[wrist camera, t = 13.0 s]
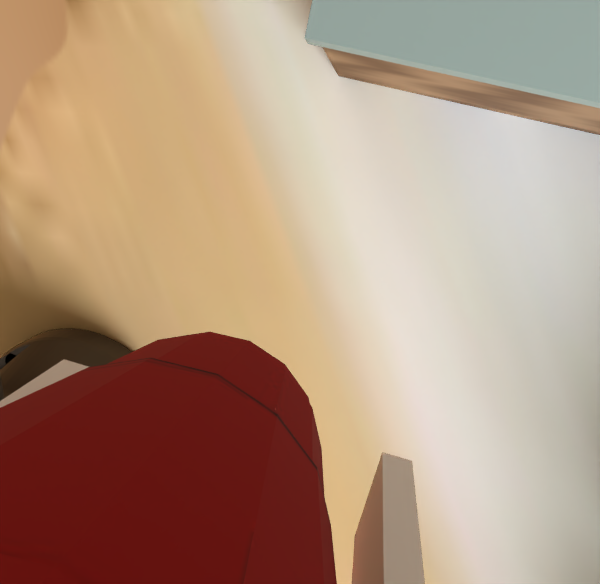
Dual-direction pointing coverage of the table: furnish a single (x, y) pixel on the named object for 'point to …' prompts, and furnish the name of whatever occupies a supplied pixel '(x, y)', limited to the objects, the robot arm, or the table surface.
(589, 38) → the pale teal square panel
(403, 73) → the wooden box
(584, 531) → the table surface
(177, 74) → the table surface
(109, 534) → the plastic cup
